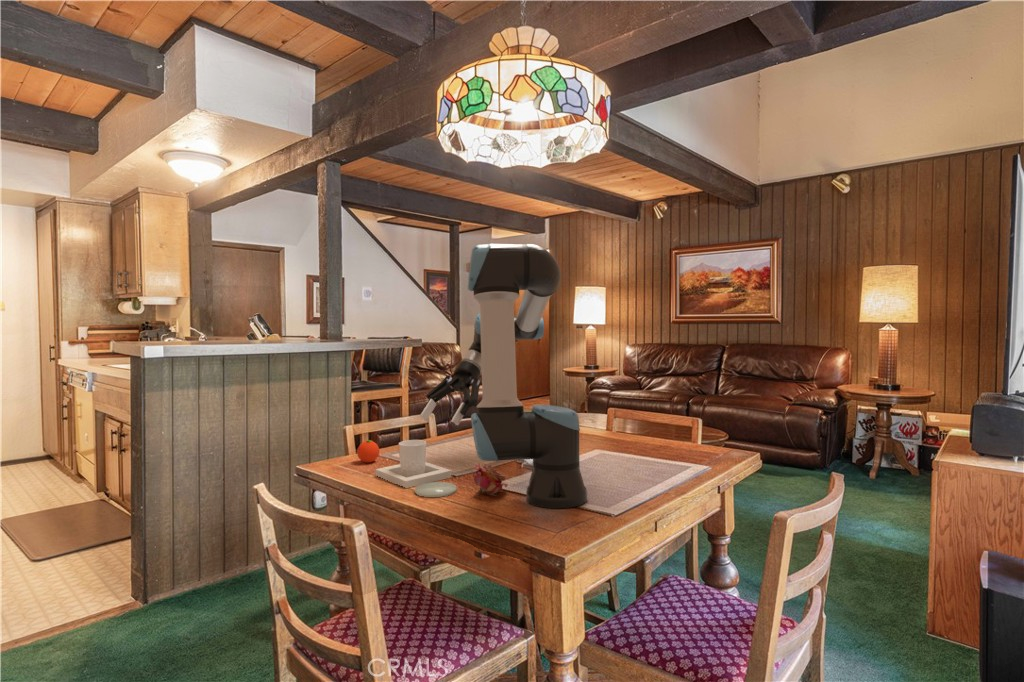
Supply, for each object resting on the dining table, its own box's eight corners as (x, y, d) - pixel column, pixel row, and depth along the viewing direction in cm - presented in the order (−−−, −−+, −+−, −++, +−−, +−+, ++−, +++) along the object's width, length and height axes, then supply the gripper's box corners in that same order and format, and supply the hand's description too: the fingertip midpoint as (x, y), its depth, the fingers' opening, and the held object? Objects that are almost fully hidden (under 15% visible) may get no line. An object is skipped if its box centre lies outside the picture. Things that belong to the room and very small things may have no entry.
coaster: (464, 491, 146) (464, 488, 146) (429, 500, 139) (429, 497, 139) (441, 482, 154) (441, 479, 154) (406, 491, 147) (406, 488, 147)
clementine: (362, 458, 182) (361, 437, 182) (383, 458, 182) (382, 437, 182) (354, 465, 174) (353, 442, 174) (376, 465, 174) (375, 442, 174)
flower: (475, 496, 136) (493, 468, 137) (458, 480, 144) (475, 454, 145) (500, 510, 142) (517, 483, 143) (482, 494, 149) (499, 468, 150)
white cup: (429, 473, 164) (429, 439, 164) (423, 480, 156) (422, 445, 156) (403, 472, 165) (403, 439, 164) (395, 480, 157) (395, 445, 156)
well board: (451, 477, 159) (451, 470, 159) (406, 488, 149) (406, 481, 149) (419, 466, 172) (419, 460, 172) (375, 476, 162) (375, 469, 162)
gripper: (506, 376, 174) (475, 432, 163) (449, 372, 189) (417, 423, 178) (495, 361, 170) (462, 416, 158) (437, 358, 185) (404, 409, 174)
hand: (438, 420), depth 168 cm, fingers open, 13 cm apart
